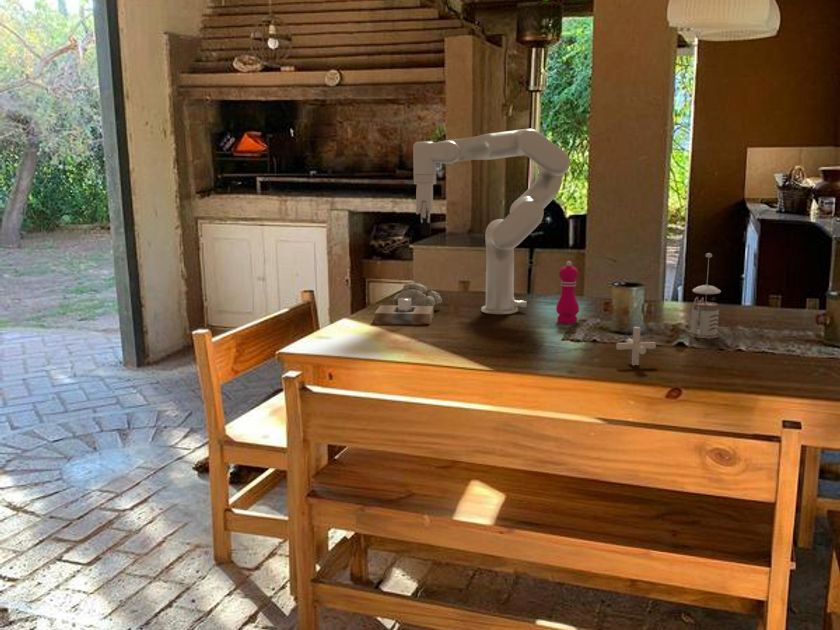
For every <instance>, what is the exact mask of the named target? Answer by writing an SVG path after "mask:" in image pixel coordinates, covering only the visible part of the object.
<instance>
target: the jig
mask: <svg viewBox="0 0 840 630" xmlns="http://www.w3.org/2000/svg"><path fill="white" fill-rule="evenodd" d="M434 306H435V305H434ZM434 306H412V305H411V312H398V306H395V305H394V304H392V305H390V304H388V305H384V304H383V305H381V304H380V305H379V306H378V308H377V309H376V310H375V312H374V324H376V325H379V324H380V325H382V324H383V325H422V324H430V323H431V324H432V321H433V319H432V318H434V311H435V310H434V308H435V307H434ZM431 324H430V325H431Z"/></svg>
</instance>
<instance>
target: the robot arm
mask: <svg viewBox="0 0 840 630" xmlns="http://www.w3.org/2000/svg"><path fill="white" fill-rule="evenodd" d="M412 149H413V151H412V153H413V154H412V155H413V158H412V159H413V184H414V185H416V190H415V191H416V193H415V194H416V195H415V197H416V198H415V213H416V215H419V214H420V235H421V236H430V235H431V233H432V232H431V231H432V230H431V229H432V227H431V213H432V212H433V205H434V185H437V163H438V164H444V165H451V164H455V163H456V162H464V161H465V162H466V161H472V160H473V161H474V160H475V161H476V160H477V161H478V160H479V161H481V160H482V161H490V160H491V161H492V160H498V159H504V158H512V157H520V156H526V157H527V158H528V159H530V160H531V161H533V162H534V163H535V164H537V167H538V174H537V178H536V179H535V181H534V182H533V183H532V185H530V186H529V188H527V190H526V191H524V193H523V194H521V195H520V196H519V197H518V198H517V199H516V200H515V201H513V203H511V206H510V207H509V213H508V215H507V216H506V217H505V218H504V219H502V218H499V219H498V218H497V219H494V220H492V221H491V222H490V223H488V225H487V227H486V229H485V232H484V233H485V234H484V235H485V236H484V239H485V258H486V259H485V262H486V263H485V305H483V306H481V307H480V308H481V309H480V311H481V312H482V313H485V314H490V315H512V314H516V313H517V312H518V311H519V308H518V307H521V308H526V307H527V306H528V305H527V301H526V300H525V301H524V300H518V299H515V296H514V295H515V294H514V292H515V291H514V288H515V286H514V284H515V282H514V281H515V248H516V247H517V246H519V245H520V244H521V243H522V242H523V241H524V240H525V239H526V238H527V237H528V236H529V235H530V234H531V233H532V232H533V231H535V230H536V228H537V227H538V226H540V224H541V222H542V221H543V218H544V213H545V210H544V209H546V207H547V206H548V205H549V204H550V203H551V202H552V201H553V200H554V198H555V197H556V196H557V194H558V193H559V192H560V189H561V186H562V182H563V176H564V174H566V173H567V171H568V170H569V169H570V165H571V161H570V157H569V154H567V152H566V151H564V150H563V149H562V148H560V147H559V146H558V145H556V144H555V143H553V141H551V140H549V139H548V138H547V137H546V136H544V135H543V134H542V133H540V132H539V131H538V130H536V129H533V128H523V129H513V130H506V131H500V132H499V131H498V132H491V133H485V134H480V135H477V136H471V137H463V138H454V139H448V140H441V141H436V142H434V141H416V142H414V144H413V147H412Z"/></svg>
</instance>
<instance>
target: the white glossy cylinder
mask: <svg viewBox="0 0 840 630" xmlns="http://www.w3.org/2000/svg"><path fill="white" fill-rule="evenodd" d="M411 306H412V305H411V298H399V299H398V312H411Z"/></svg>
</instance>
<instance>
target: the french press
mask: <svg viewBox="0 0 840 630" xmlns="http://www.w3.org/2000/svg"><path fill="white" fill-rule="evenodd" d="M712 257H713V254H712V253H711V252H708V253H706V254H705V258H707V259H708V261H707V270H709V267H710V263H709V262H710V258H712ZM706 273H707V276H706V284H702V285H698V286H696V287H694V288H693V289H692V293H695V294H700V295H705V299H707V295H717V294H721V292H722V291H721V289H719V288H718V287H716V286H714V285H709V284H708V279H709V271H707V272H706ZM692 304H693V306H692V307H691V316H690V317H691V318H690V330H689V332H690V331H691V332H692V333H694V334H698V335H716V334H717V333H718V328H719V326H718V325H719V317H720V316H719V315H720V309H719V308H718V306H719V304H718V303H717V302H713V301H712V302H711V301H707V300H705V301H704V297H701V299H700V300H699V296H696V297H695V298H694V301H693V302H692ZM699 314H700V315H699Z"/></svg>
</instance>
